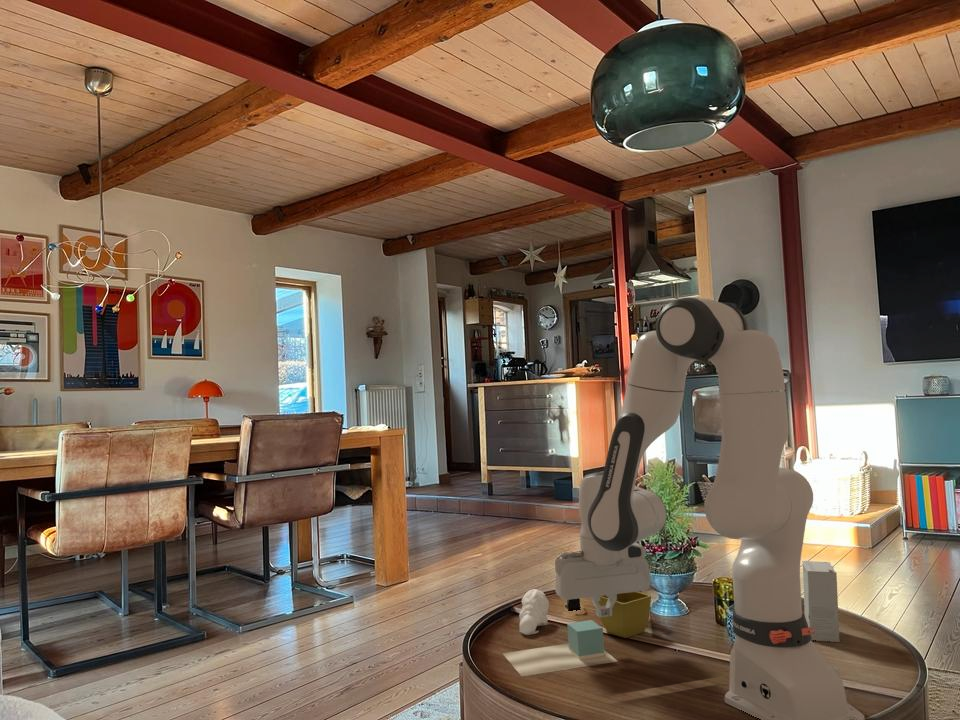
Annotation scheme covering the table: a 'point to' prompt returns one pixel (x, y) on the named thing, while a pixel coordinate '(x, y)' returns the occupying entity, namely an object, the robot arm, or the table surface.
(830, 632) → the skincare box
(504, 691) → the table surface
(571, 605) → the black upright block
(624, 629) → the flower pot
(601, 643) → the teal block
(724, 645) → the table surface
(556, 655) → the birch board
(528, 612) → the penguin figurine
